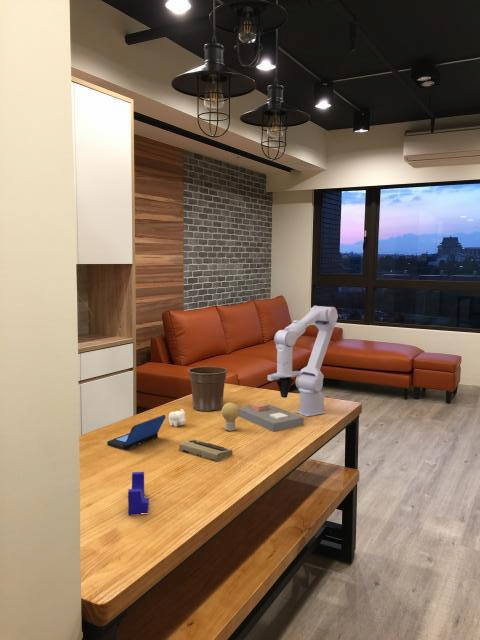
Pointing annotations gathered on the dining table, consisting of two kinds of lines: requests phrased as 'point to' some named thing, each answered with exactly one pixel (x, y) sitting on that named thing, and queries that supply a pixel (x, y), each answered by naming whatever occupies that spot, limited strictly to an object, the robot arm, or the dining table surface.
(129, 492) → the blue stepped block
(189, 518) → the dining table surface
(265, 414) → the key console
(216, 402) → the plant pot
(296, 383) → the robot arm
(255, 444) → the dining table surface
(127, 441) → the handheld game console
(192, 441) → the computer
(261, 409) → the terracotta key
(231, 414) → the light bulb
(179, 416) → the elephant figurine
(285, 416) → the white key
